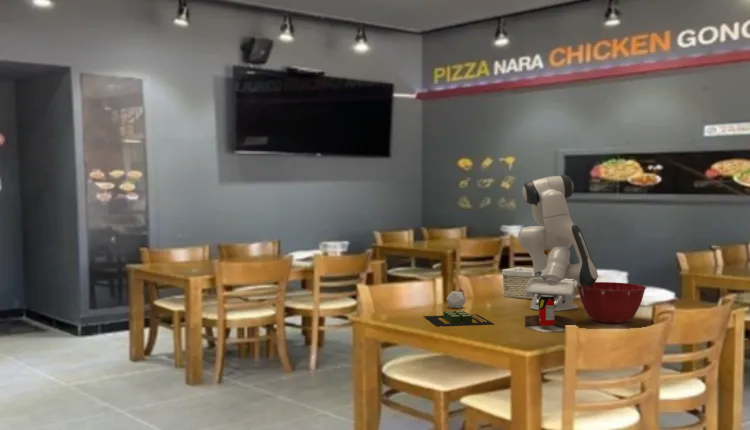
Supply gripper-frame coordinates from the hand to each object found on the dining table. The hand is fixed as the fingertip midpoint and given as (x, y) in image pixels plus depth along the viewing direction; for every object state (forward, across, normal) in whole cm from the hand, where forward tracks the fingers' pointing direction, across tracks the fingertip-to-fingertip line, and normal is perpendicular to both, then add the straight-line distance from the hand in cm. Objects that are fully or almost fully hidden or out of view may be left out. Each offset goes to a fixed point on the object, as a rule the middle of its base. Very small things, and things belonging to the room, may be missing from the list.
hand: (546, 305), depth 319 cm
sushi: (+6, +40, -9) cm, 42 cm away
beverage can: (+6, 0, -6) cm, 8 cm away
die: (-17, +55, -32) cm, 65 cm away
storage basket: (-52, +36, -67) cm, 92 cm away
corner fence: (+6, -1, -8) cm, 10 cm away
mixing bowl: (-15, -18, -30) cm, 38 cm away
